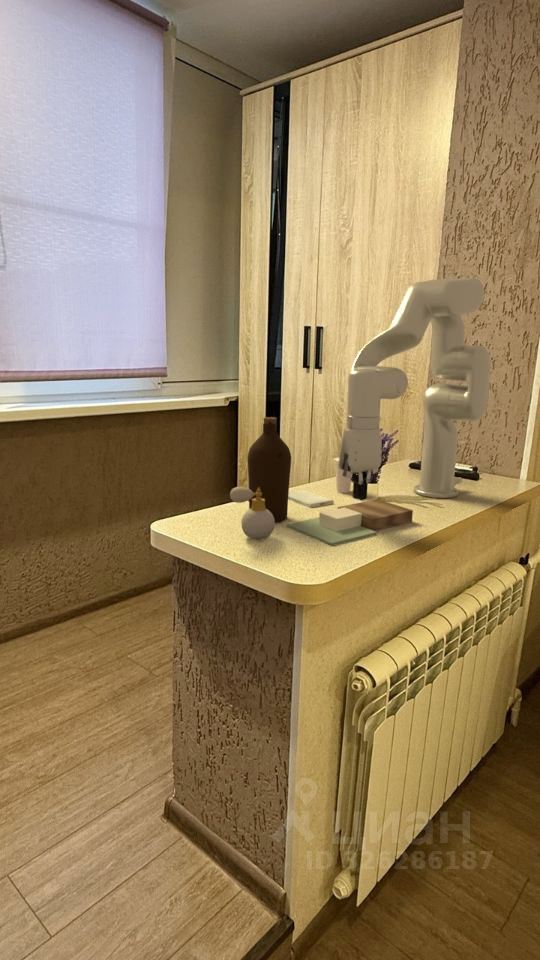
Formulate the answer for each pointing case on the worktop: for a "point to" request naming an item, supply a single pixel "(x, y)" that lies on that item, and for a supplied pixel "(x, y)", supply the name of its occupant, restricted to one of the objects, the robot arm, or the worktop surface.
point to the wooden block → (381, 514)
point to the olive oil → (270, 470)
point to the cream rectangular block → (340, 519)
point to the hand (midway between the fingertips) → (359, 498)
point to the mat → (330, 532)
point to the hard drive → (309, 499)
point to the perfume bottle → (254, 514)
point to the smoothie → (341, 479)
